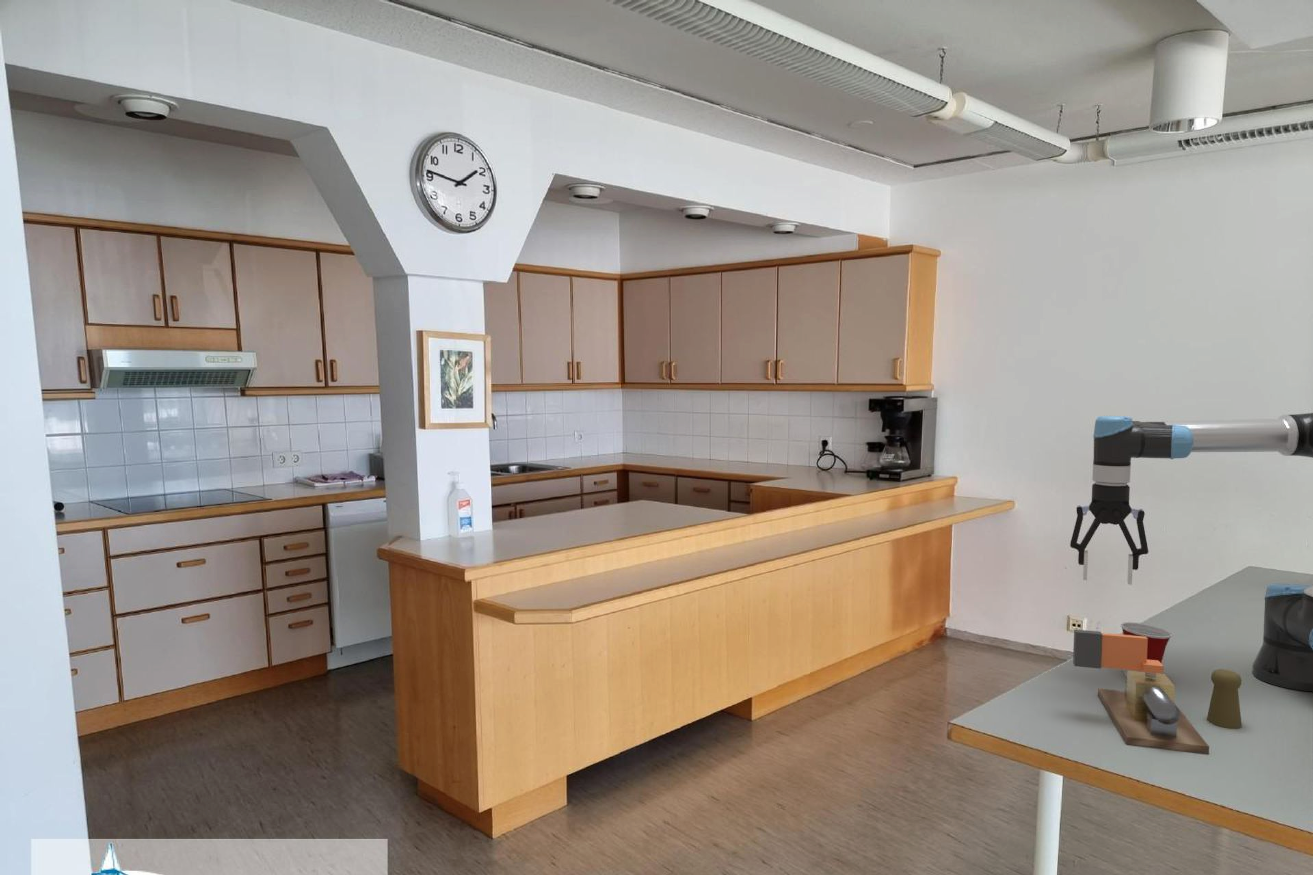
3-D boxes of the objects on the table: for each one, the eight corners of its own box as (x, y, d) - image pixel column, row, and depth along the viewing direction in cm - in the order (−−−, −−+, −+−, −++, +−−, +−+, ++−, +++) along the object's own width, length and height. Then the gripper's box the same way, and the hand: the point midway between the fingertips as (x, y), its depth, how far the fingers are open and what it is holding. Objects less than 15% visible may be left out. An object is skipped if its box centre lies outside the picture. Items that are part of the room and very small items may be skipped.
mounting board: (1168, 702, 180) (1168, 695, 180) (1208, 753, 156) (1209, 746, 155) (1097, 694, 184) (1098, 688, 184) (1126, 744, 160) (1126, 736, 160)
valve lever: (1157, 673, 170) (1159, 635, 170) (1162, 679, 167) (1164, 640, 166) (1072, 665, 175) (1073, 628, 175) (1075, 671, 172) (1076, 633, 171)
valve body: (1151, 695, 180) (1153, 660, 180) (1186, 741, 157) (1188, 701, 157) (1116, 691, 182) (1117, 657, 182) (1145, 736, 160) (1147, 697, 159)
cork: (1242, 730, 166) (1245, 678, 165) (1207, 724, 169) (1209, 672, 168) (1240, 720, 171) (1243, 669, 170) (1206, 714, 174) (1208, 664, 173)
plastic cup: (1178, 686, 190) (1180, 635, 189) (1127, 682, 192) (1130, 633, 191) (1159, 669, 200) (1161, 622, 199) (1111, 666, 202) (1113, 619, 202)
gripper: (1163, 484, 184) (1159, 582, 185) (1059, 479, 193) (1056, 572, 195) (1166, 488, 177) (1162, 590, 179) (1059, 482, 187) (1055, 579, 188)
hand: (1107, 580), depth 187 cm, fingers open, 8 cm apart
